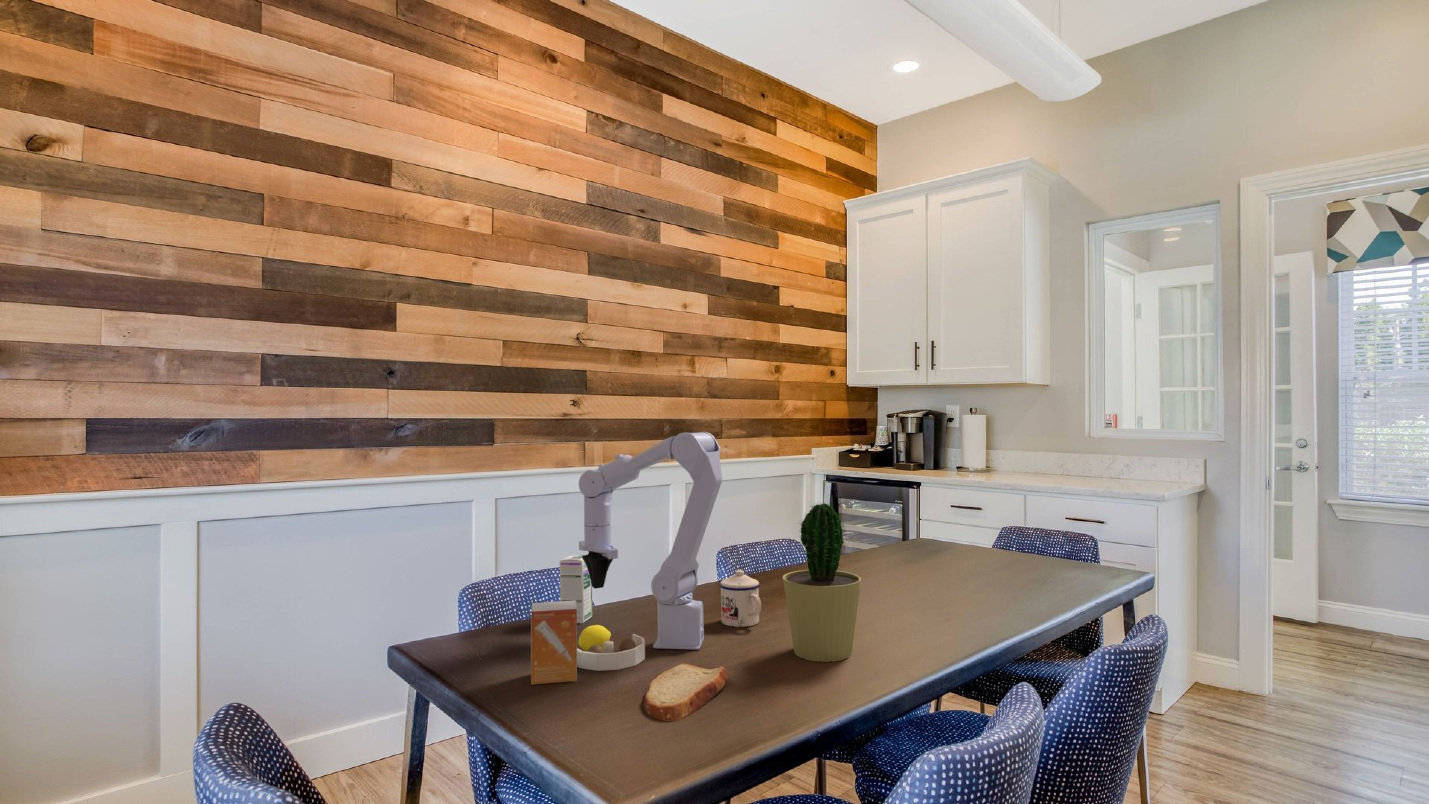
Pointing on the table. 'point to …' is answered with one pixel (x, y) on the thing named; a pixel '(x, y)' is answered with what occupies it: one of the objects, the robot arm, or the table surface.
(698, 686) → the slice of bread
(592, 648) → the walnut bead
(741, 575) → the teacup with lid
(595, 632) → the lemon
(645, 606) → the table surface
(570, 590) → the syrup box
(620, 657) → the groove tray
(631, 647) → the walnut bead
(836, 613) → the potted cactus
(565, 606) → the small box
